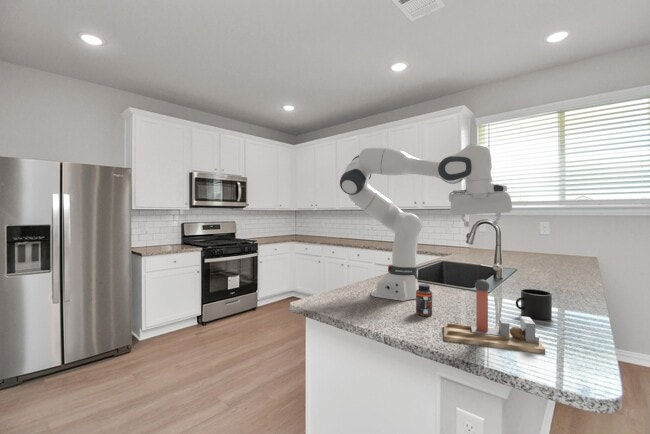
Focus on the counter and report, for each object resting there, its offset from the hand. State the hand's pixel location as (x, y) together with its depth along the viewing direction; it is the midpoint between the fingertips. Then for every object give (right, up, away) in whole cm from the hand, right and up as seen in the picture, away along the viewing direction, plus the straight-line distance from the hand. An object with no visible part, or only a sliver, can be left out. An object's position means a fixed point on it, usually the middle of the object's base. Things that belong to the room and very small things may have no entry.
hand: (480, 226), depth 113 cm
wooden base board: (-7, -34, -19) cm, 40 cm away
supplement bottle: (-19, -34, +5) cm, 40 cm away
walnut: (0, -33, -21) cm, 39 cm away
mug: (+20, -34, +1) cm, 39 cm away
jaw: (+3, -33, -22) cm, 40 cm away
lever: (-7, -33, -19) cm, 38 cm away
